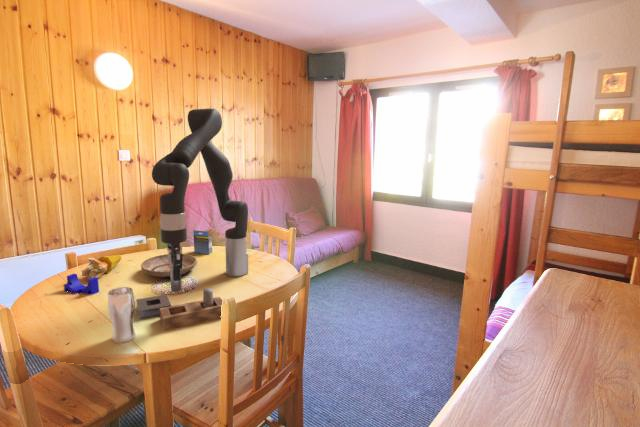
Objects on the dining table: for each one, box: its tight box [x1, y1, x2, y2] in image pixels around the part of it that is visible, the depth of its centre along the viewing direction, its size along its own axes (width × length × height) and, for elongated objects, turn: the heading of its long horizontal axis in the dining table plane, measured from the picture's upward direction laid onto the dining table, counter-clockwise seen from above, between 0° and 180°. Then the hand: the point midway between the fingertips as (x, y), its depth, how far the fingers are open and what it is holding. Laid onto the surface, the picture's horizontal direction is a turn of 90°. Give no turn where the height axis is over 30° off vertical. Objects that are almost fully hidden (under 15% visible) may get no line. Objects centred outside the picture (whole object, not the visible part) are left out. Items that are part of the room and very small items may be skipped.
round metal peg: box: [170, 259, 183, 293], centre depth 117 cm, size 3×3×11 cm
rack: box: [159, 287, 223, 331], centre depth 122 cm, size 20×8×9 cm, turn 121°
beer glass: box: [107, 286, 136, 344], centre depth 108 cm, size 7×7×15 cm
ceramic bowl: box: [140, 253, 198, 278], centre depth 163 cm, size 23×24×5 cm
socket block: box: [135, 294, 172, 320], centre depth 127 cm, size 10×10×3 cm
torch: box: [80, 254, 122, 280], centre depth 159 cm, size 8×8×25 cm
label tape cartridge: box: [192, 230, 213, 255], centre depth 191 cm, size 9×4×12 cm, turn 77°
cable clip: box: [63, 273, 100, 295], centre depth 139 cm, size 12×4×6 cm, turn 73°
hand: (176, 277), depth 117 cm, fingers closed on round metal peg, 3 cm apart
